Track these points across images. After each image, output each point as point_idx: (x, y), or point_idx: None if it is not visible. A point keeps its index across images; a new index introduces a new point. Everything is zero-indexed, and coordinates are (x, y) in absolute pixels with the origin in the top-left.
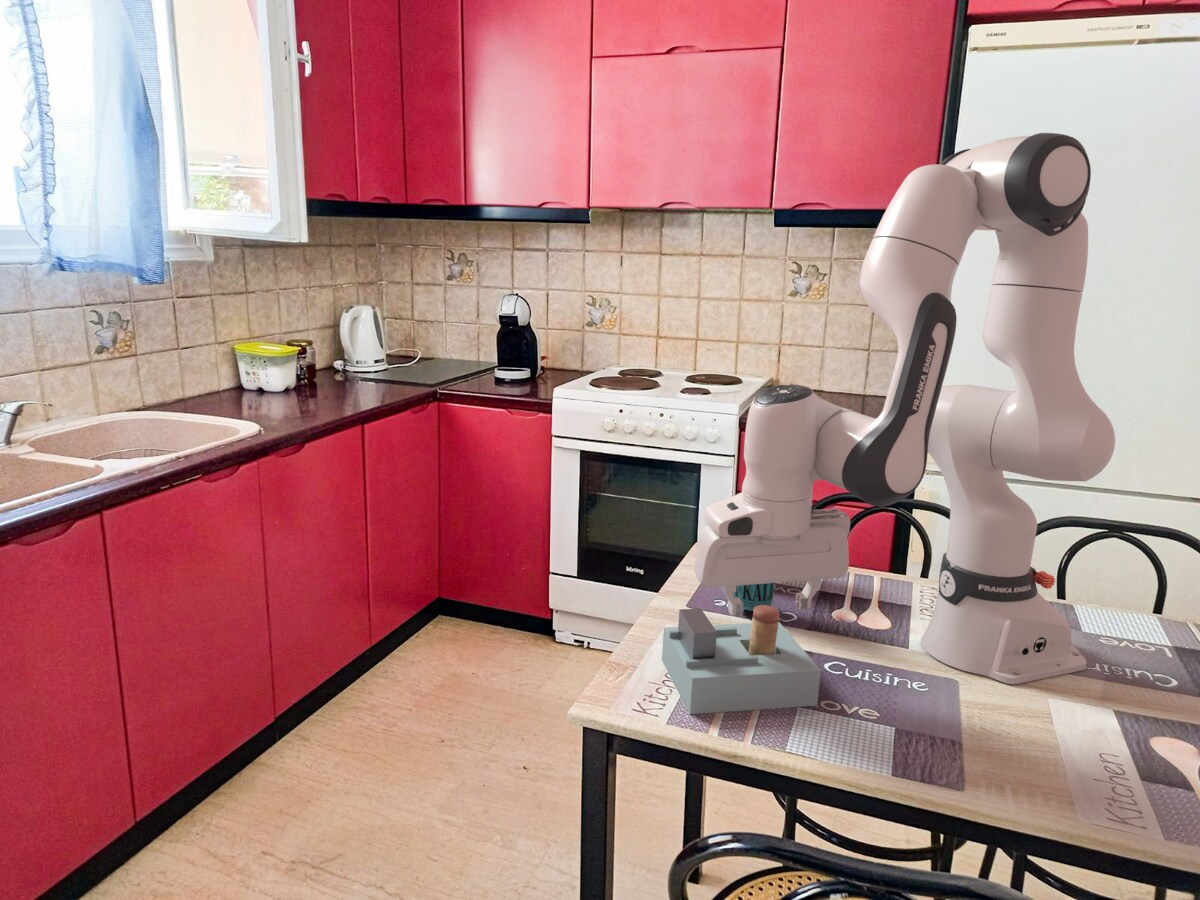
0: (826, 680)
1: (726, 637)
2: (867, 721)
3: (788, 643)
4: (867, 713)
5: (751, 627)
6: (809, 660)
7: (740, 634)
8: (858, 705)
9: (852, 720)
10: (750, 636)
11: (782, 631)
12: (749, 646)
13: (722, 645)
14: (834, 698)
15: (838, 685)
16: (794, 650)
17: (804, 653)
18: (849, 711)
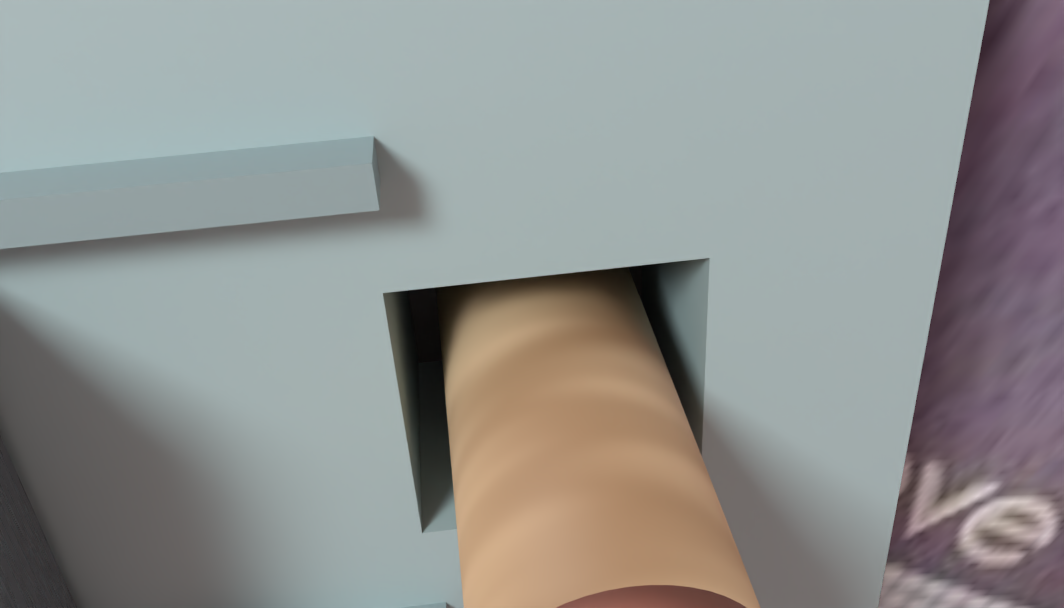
0: (1002, 236)
1: (255, 243)
2: (954, 585)
3: (841, 348)
4: (1001, 532)
5: (463, 569)
6: (862, 571)
7: (425, 181)
8: (1006, 474)
9: (887, 582)
10: (456, 495)
11: (916, 112)
12: (449, 429)
13: (193, 391)
14: (920, 419)
15: (1038, 292)
16: (828, 453)
17: (884, 490)
18: (922, 521)
